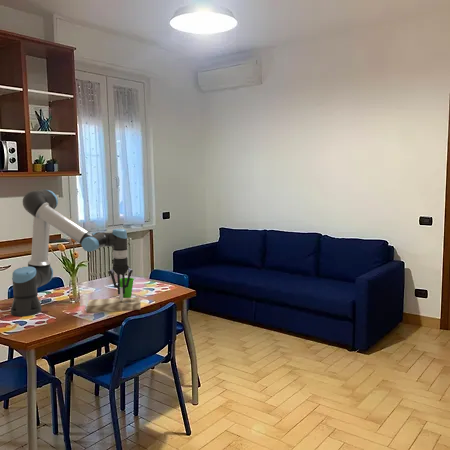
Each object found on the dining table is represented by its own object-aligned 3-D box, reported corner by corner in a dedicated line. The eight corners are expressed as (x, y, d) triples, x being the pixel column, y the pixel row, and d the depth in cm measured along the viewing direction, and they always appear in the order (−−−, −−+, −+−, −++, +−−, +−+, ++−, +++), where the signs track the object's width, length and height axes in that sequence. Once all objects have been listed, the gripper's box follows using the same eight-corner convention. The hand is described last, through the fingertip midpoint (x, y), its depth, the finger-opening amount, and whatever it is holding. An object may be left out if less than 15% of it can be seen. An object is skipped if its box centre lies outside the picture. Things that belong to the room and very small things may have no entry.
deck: (87, 312, 247) (86, 306, 247) (89, 305, 259) (89, 299, 259) (140, 309, 252) (140, 303, 252) (140, 303, 264) (140, 297, 264)
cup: (115, 298, 273) (115, 280, 272) (125, 294, 281) (125, 277, 280) (127, 300, 269) (127, 282, 268) (137, 296, 277) (137, 278, 276)
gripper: (107, 259, 247) (109, 302, 250) (132, 258, 249) (133, 301, 252) (108, 256, 254) (109, 298, 257) (132, 255, 257) (133, 297, 260)
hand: (121, 299), depth 255 cm, fingers closed
